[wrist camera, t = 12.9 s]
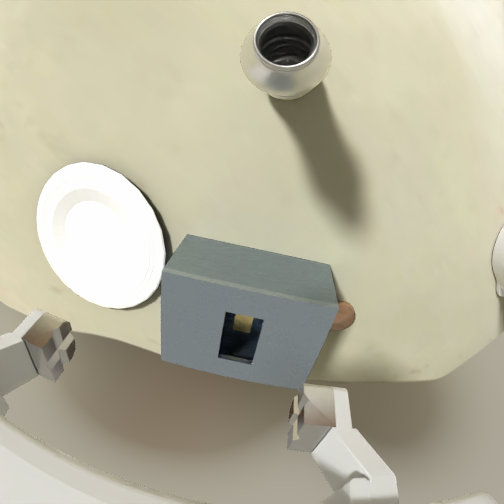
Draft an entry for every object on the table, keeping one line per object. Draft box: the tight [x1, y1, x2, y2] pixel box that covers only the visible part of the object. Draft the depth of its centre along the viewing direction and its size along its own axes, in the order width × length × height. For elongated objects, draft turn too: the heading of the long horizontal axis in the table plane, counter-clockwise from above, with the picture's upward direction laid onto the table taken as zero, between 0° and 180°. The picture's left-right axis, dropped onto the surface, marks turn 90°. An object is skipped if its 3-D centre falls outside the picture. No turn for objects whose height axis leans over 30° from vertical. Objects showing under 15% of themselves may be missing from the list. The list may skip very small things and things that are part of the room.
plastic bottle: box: [240, 12, 332, 100], centre depth 22 cm, size 6×7×20 cm
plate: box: [37, 162, 166, 309], centre depth 44 cm, size 25×25×2 cm
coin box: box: [161, 234, 339, 389], centre depth 41 cm, size 20×15×10 cm
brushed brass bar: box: [233, 314, 253, 333], centre depth 43 cm, size 2×5×5 cm, turn 169°
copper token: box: [330, 301, 355, 330], centre depth 45 cm, size 5×5×1 cm
